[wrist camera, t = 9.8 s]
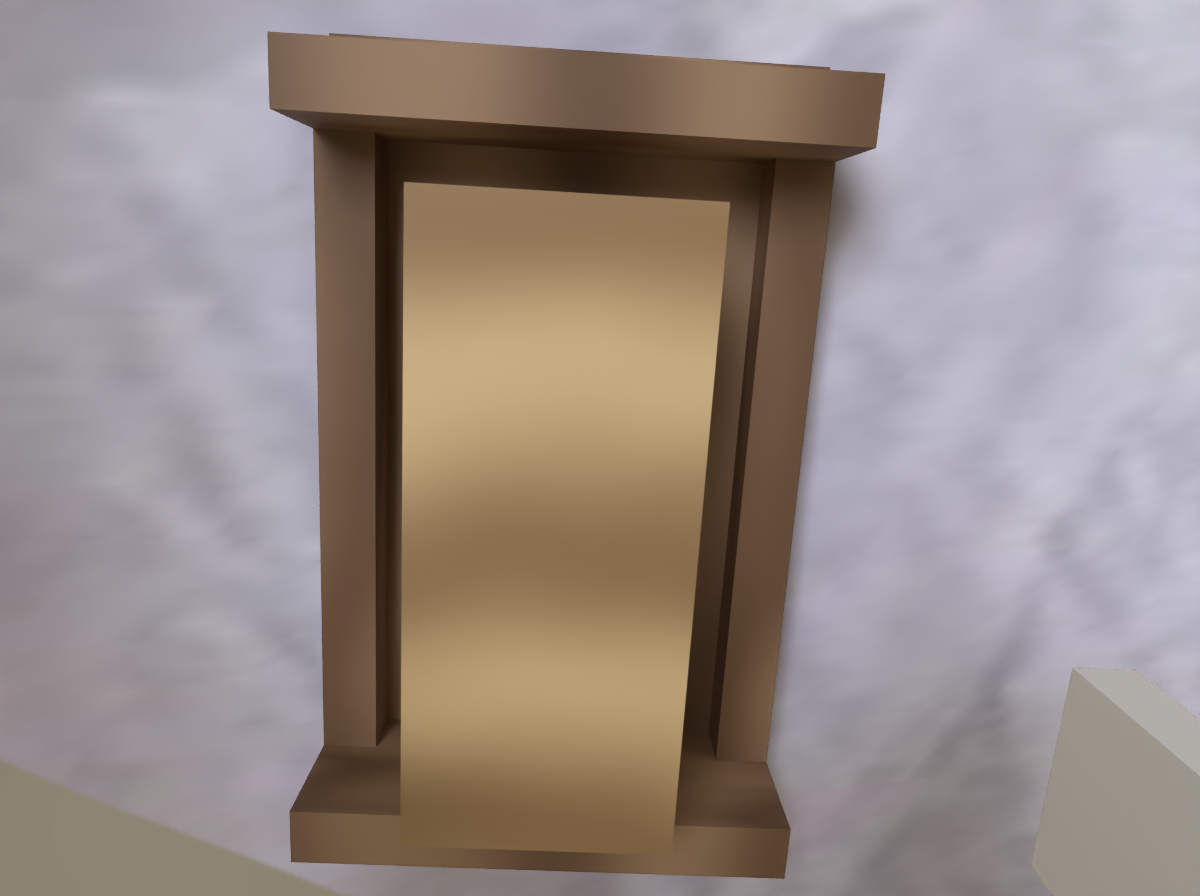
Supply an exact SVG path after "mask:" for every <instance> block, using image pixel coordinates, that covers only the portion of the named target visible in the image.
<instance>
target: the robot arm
mask: <svg viewBox="0 0 1200 896" xmlns="http://www.w3.org/2000/svg"><path fill="white" fill-rule="evenodd" d="M1031 867H1032V869H1033V870H1034V871H1035V873H1036V874H1037V875H1038V877H1039V878H1040V880H1041V881H1042V882H1043V884H1044V885H1045V886H1046V888H1047V889H1048V890H1049V892H1050V893H1051V895H1052V896H1200V719H1199V718H1198V717H1196V716H1195V715H1194V714H1192V713H1191V712H1190V711H1188V710H1187V709H1186V708H1185V707H1183V706H1182V705H1181V704H1179V703H1178V702H1177V701H1175V700H1174V699H1173V698H1171V697H1170V696H1169V695H1168V694H1166V693H1165V692H1164V691H1162V690H1161V689H1160V688H1158V687H1157V686H1156V685H1154V684H1153V683H1152V682H1150V681H1149V680H1148V679H1147V678H1145V677H1144V676H1143V675H1141V674H1140V673H1139V672H1137V671H1136V670H1126V669H1098V668H1072V673H1071V678H1070V682H1069V687H1068V692H1067V697H1066V701H1065V706H1064V711H1063V715H1062V720H1061V725H1060V730H1059V734H1058V739H1057V744H1056V748H1055V753H1054V758H1053V763H1052V767H1051V772H1050V777H1049V781H1048V786H1047V791H1046V796H1045V800H1044V805H1043V810H1042V814H1041V819H1040V824H1039V829H1038V833H1037V838H1036V843H1035V847H1034V852H1033V857H1032V862H1031Z"/></svg>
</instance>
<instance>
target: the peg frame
mask: <svg viewBox="0 0 1200 896" xmlns="http://www.w3.org/2000/svg"><path fill="white" fill-rule="evenodd" d="M268 66H269V101H270V109H272V110H274V111H276V112H279V113H281V114H283V115H285V116H287V117H290V118H292V119H294V120H296V121H298V122H301V123H303V124H305V125H307V126H309V127H312V128H313V144H314V201H315V258H316V315H317V372H318V429H319V486H320V543H321V600H322V657H323V714H324V746H323V748H322V750H321V752H320V754H319V756H318V758H317V760H316V762H315V764H314V766H313V768H312V769H311V771H310V773H309V775H308V777H307V779H306V781H305V783H304V785H303V787H302V789H301V791H300V793H299V795H298V797H297V798H296V800H295V802H294V804H293V806H292V808H291V810H290V840H291V862H308V863H337V864H367V865H397V866H426V867H456V868H486V869H515V870H545V871H575V872H604V873H634V874H663V875H693V876H723V877H752V878H782V879H784V877H785V869H786V861H787V853H788V845H789V837H790V827H789V824H788V821H787V819H786V816H785V813H784V810H783V808H782V805H781V802H780V799H779V797H778V794H777V791H776V788H775V786H774V783H773V780H772V777H771V775H770V772H769V769H768V766H767V764H766V758H767V749H768V741H769V732H770V723H771V715H772V706H773V697H774V689H775V680H776V672H777V663H778V654H779V646H780V637H781V628H782V620H783V611H784V602H785V594H786V585H787V576H788V568H789V559H790V550H791V542H792V533H793V524H794V516H795V507H796V498H797V490H798V481H799V473H800V464H801V455H802V447H803V438H804V429H805V421H806V412H807V403H808V395H809V386H810V377H811V369H812V360H813V351H814V343H815V334H816V325H817V317H818V308H819V299H820V291H821V282H822V274H823V265H824V256H825V248H826V239H827V230H828V222H829V213H830V204H831V196H832V187H833V178H834V170H835V162H836V161H839V160H842V159H845V158H848V157H851V156H854V155H857V154H860V153H862V152H865V151H868V150H871V149H874V148H876V144H877V136H878V128H879V120H880V112H881V104H882V96H883V88H884V80H885V74H882V73H868V72H853V71H838V70H830V67H815V66H801V65H786V64H772V63H757V62H742V61H728V60H713V59H698V58H684V57H669V56H654V55H640V54H625V53H610V52H596V51H581V50H566V49H552V48H537V47H522V46H508V45H493V44H478V43H464V42H449V41H434V40H420V39H405V38H390V37H376V36H361V35H347V34H332V33H329V36H324V35H310V34H295V33H280V32H268ZM404 182H413V183H429V184H445V185H461V186H477V187H493V188H509V189H526V190H542V191H558V192H574V193H590V194H606V195H622V196H638V197H654V198H670V199H686V200H702V201H719V202H730V209H729V221H728V232H727V243H726V254H725V265H724V276H723V288H722V299H721V310H720V321H719V332H718V343H717V355H716V366H715V377H714V388H713V399H712V410H711V422H710V433H709V444H708V455H707V466H706V477H705V489H704V500H703V511H702V522H701V533H700V544H699V556H698V567H697V578H696V589H695V600H694V611H693V623H692V634H691V645H690V656H689V667H688V678H687V690H686V701H685V712H684V723H683V734H682V745H681V757H680V768H679V779H678V790H677V801H676V812H675V824H674V835H673V846H672V855H645V854H616V853H587V852H558V851H529V850H500V849H471V848H442V847H413V846H400V796H401V610H402V424H403V238H404Z"/></svg>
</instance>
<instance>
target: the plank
mask: <svg viewBox="0 0 1200 896" xmlns="http://www.w3.org/2000/svg"><path fill="white" fill-rule="evenodd" d="M729 209H730V202H719V201H702V200H686V199H670V198H654V197H638V196H622V195H606V194H590V193H574V192H558V191H542V190H526V189H509V188H493V187H477V186H461V185H445V184H429V183H413V182H404V238H403V424H402V610H401V796H400V846H413V847H442V848H471V849H500V850H529V851H558V852H587V853H616V854H645V855H672V846H673V835H674V824H675V812H676V801H677V790H678V779H679V768H680V757H681V745H682V734H683V723H684V712H685V701H686V690H687V678H688V667H689V656H690V645H691V634H692V623H693V611H694V600H695V589H696V578H697V567H698V556H699V544H700V533H701V522H702V511H703V500H704V489H705V477H706V466H707V455H708V444H709V433H710V422H711V410H712V399H713V388H714V377H715V366H716V355H717V343H718V332H719V321H720V310H721V299H722V288H723V276H724V265H725V254H726V243H727V232H728V221H729Z"/></svg>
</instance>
